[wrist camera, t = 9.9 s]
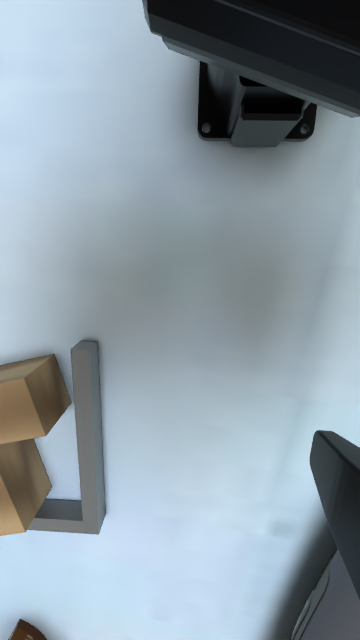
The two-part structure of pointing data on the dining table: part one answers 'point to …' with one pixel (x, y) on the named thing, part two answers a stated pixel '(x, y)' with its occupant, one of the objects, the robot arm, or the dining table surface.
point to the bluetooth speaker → (330, 607)
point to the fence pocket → (81, 453)
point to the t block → (26, 436)
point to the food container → (26, 632)
